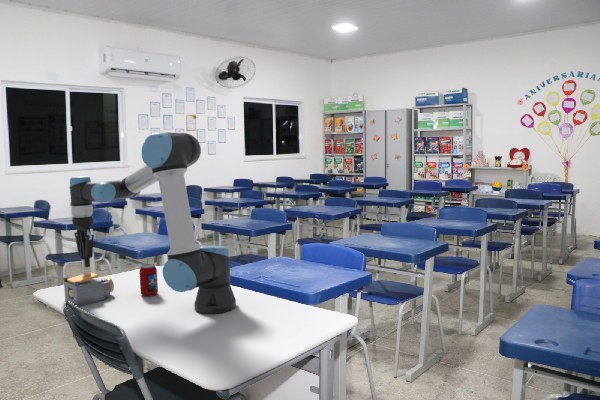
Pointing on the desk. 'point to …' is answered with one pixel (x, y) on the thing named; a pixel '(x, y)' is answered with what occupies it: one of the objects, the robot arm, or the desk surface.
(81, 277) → the plate
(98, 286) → the hitch block
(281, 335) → the desk surface
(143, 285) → the beverage can
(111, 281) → the pin
